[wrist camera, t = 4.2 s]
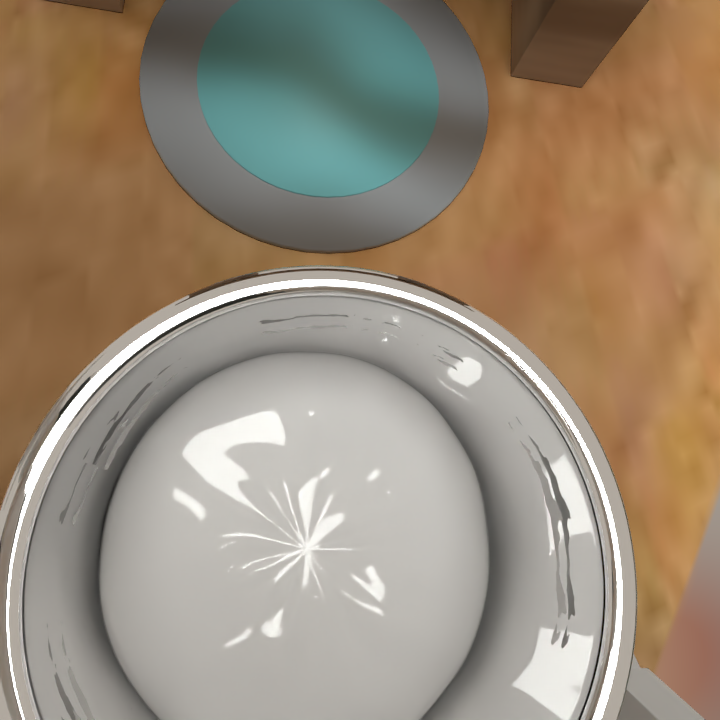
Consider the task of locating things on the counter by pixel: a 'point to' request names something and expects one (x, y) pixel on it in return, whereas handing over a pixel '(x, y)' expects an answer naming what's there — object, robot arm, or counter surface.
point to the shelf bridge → (340, 106)
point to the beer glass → (315, 520)
